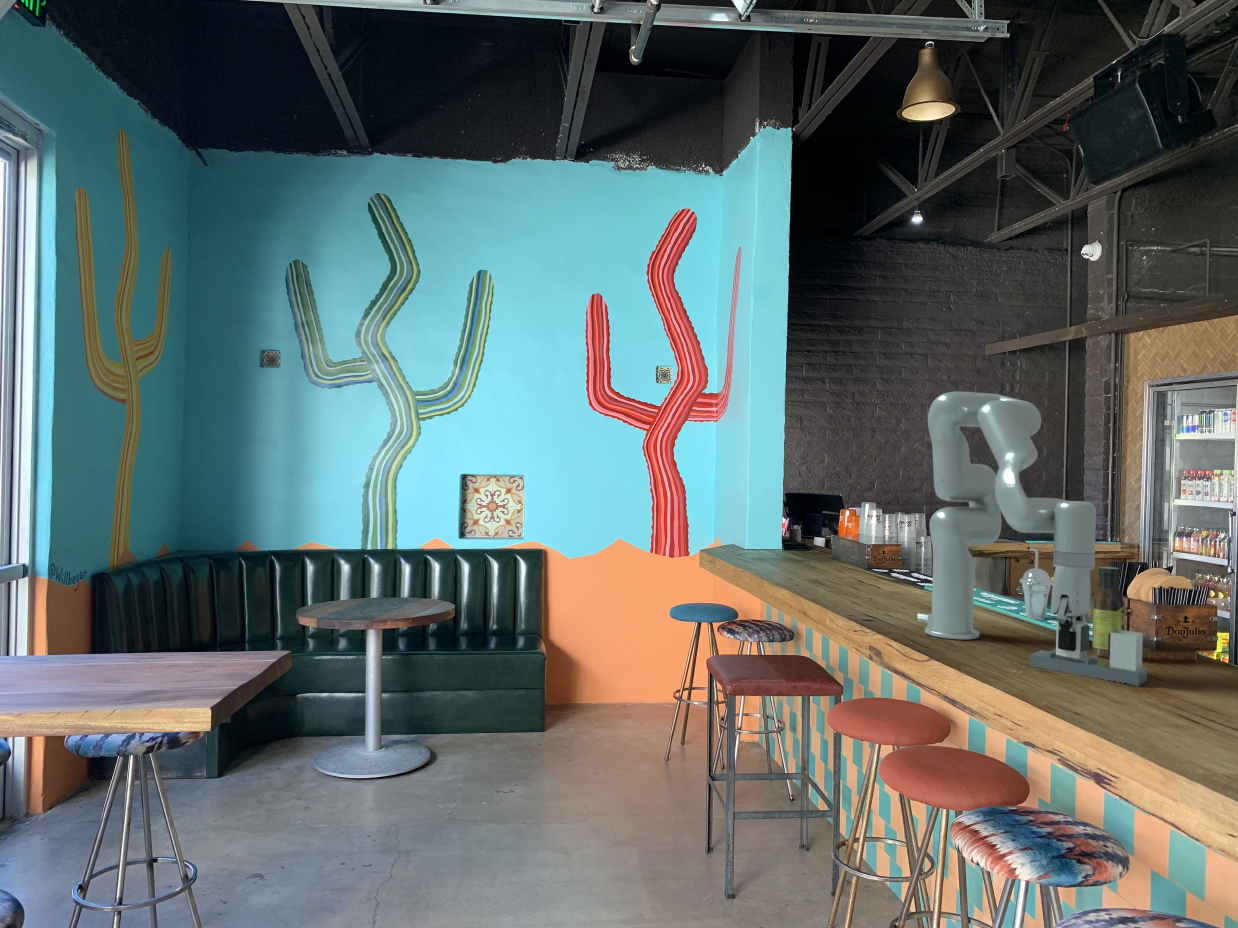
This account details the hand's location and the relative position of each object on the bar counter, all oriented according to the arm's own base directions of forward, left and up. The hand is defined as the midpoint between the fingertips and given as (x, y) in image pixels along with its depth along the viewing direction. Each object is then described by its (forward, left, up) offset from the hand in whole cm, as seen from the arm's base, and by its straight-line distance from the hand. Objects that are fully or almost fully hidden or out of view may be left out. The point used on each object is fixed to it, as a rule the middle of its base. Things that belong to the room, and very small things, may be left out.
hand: (1071, 646), depth 174 cm
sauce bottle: (+1, +21, -5) cm, 22 cm away
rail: (+3, 0, -5) cm, 6 cm away
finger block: (0, 0, -2) cm, 2 cm away
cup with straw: (-27, +56, -5) cm, 62 cm away
